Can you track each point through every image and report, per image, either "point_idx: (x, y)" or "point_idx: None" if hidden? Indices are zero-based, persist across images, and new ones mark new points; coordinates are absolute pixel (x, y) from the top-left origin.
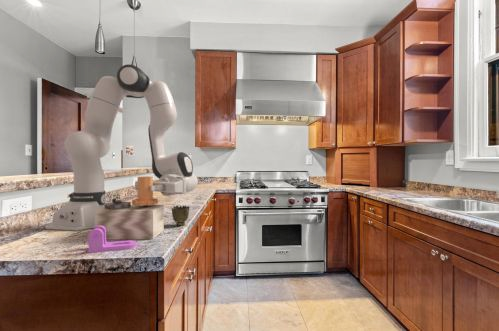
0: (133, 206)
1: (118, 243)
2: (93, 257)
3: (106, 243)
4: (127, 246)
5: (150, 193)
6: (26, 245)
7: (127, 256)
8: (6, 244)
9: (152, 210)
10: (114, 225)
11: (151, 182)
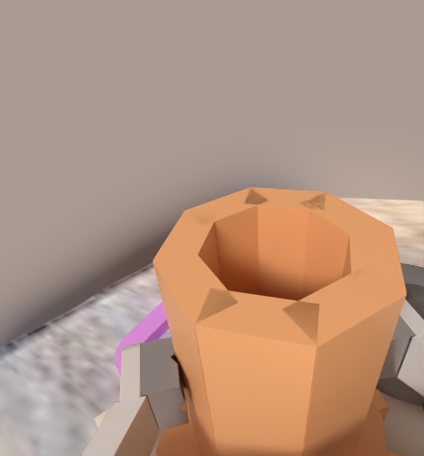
0: (389, 424)
1: None
2: (153, 274)
3: None
4: (124, 340)
5: (191, 414)
6: (382, 220)
7: (76, 320)
8: (421, 202)
9: (103, 419)
10: None
11: (185, 354)
